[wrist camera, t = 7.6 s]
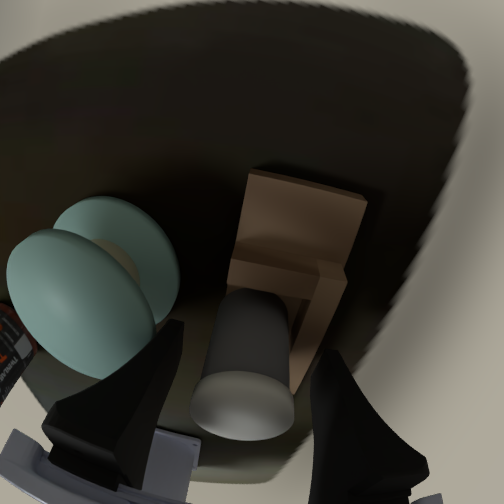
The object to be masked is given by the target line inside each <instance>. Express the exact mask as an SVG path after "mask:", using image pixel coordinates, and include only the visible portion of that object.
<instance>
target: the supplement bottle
mask: <svg viewBox="0 0 504 504" xmlns="http://www.w3.org/2000/svg"><path fill="white" fill-rule="evenodd" d="M36 352H37V342H36V339H35V338H34V337H33V336H32V335H31V333H30V332H29V331H28V329H27V328H26V327H25V325H24V324H23V322H22V321H21V319H20V317H19V315H18V314H17V312H16V311H15V310H14V309H12V308H11V307H9V306H8V305H6V304H3V303H0V407H1V405H2V403H3V402H4V400H5V399H6V397H7V396H8V394H9V392H10V391H11V389H12V388H13V386H14V384H15V383H16V382H17V380H18V379H19V378H20V376H21V374H22V373H23V372H24V370H25V369H26V367H27V366H28V365H29V363H30V362H31V360H32V359H33V357H34V356H35V354H36Z"/></svg>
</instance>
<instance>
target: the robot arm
mask: <svg viewBox="0 0 504 504" xmlns="http://www.w3.org/2000/svg"><path fill="white" fill-rule="evenodd" d="M183 331H184V322H182V321H178V320H174V319H169V320H168V321H167V322H166V324H165V325H164V326H163V327H162V328H161V330H160V331H159V332H158V333H157V334H156V335H155V336H154V337H153V338H152V339H151V340H150V341H149V342H148V343H147V344H146V345H145V346H144V347H143V348H142V349H141V350H140V351H139V352H138V353H137V354H136V355H135V356H134V357H132V358H131V359H130V360H129V361H128V362H127V363H125V364H124V365H123V366H121V367H120V368H119V369H117V370H116V371H115V372H113V373H112V374H110V375H109V376H107V377H106V378H104V379H103V380H101V381H99V382H98V383H96V384H94V385H92V386H90V387H88V388H87V389H85V390H83V391H81V392H79V393H76V394H74V395H72V396H69V397H67V398H64V399H62V400H59V401H56V402H55V404H54V405H53V406H52V408H51V409H50V411H49V412H48V414H47V416H46V418H45V420H44V421H43V423H42V430H43V432H44V433H45V435H46V436H47V437H48V439H49V440H50V441H51V442H52V443H53V447H52V449H51V451H50V453H49V452H47V451H45V450H44V449H43V447H42V446H41V445H40V444H39V443H38V442H36V441H35V440H33V439H32V438H30V437H28V436H27V435H25V434H23V433H22V432H20V431H18V430H17V429H13V431H12V433H11V434H10V436H9V439H8V440H7V442H6V444H5V446H4V448H3V450H2V452H1V454H0V476H1V477H2V478H4V479H5V480H7V481H8V482H9V483H11V484H12V485H14V486H15V487H17V488H18V489H20V490H21V491H23V492H24V493H26V494H27V495H29V496H31V497H32V498H34V499H36V500H38V501H39V502H41V503H43V504H191V503H186V502H185V501H186V496H187V491H188V487H189V482H190V477H191V472H192V470H193V471H196V470H197V465H198V459H199V453H200V446H201V440H200V439H198V438H194V437H190V436H185V435H181V434H177V433H173V432H169V431H165V430H162V429H158V428H156V425H157V422H158V418H159V415H160V412H161V409H162V407H163V404H164V402H165V400H166V397H167V395H168V392H169V390H170V387H171V385H172V382H173V380H174V377H175V375H176V372H177V369H178V365H179V362H180V358H181V355H182V346H183ZM310 399H311V411H312V422H313V433H314V455H313V470H312V480H311V489H310V495H309V501H308V504H409V499H408V496H411V488H413V487H414V486H416V485H417V484H419V483H420V482H422V481H424V480H425V479H426V478H427V477H428V476H429V468H428V464H427V460H426V457H425V456H423V455H422V454H420V453H419V452H418V451H416V450H414V449H413V448H412V447H411V446H409V445H408V444H407V443H406V442H405V441H404V440H402V439H401V438H400V437H399V436H398V435H397V434H396V433H395V432H394V431H393V430H392V429H391V428H390V427H389V426H388V425H387V424H386V423H385V422H384V421H383V419H382V418H381V417H380V416H379V415H378V413H377V412H376V411H375V410H374V408H373V407H372V406H371V404H370V403H369V402H368V400H367V399H366V397H365V396H364V394H363V393H362V391H361V390H360V388H359V386H358V385H357V383H356V381H355V380H354V378H353V376H352V375H351V373H350V371H349V369H348V367H347V366H346V364H345V362H344V360H343V359H342V357H341V355H340V353H339V352H338V350H330V349H325V351H324V353H323V355H322V357H321V359H320V361H319V362H318V364H317V366H316V368H315V370H314V372H313V374H312V375H311V387H310ZM411 504H443V500H442V495H441V494H440V493H439V494H435V495H431V496H427V497H423V498H420V499H418V500H416V501H414V502H412V503H411Z"/></svg>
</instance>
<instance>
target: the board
mask: <svg viewBox="0 0 504 504" xmlns="http://www.w3.org/2000/svg"><path fill="white" fill-rule="evenodd" d="M367 203H368V202H367V201H366V199H365V198H364V197H363V196H362V195H360V194H357V193H353V192H349V191H346V190H342V189H338V188H334V187H331V186H327V185H323V184H319V183H315V182H311V181H306V180H302V179H298V178H294V177H289V176H285V175H281V174H276V173H271V172H267V171H262V170H257V169H252V168H251V170H250V172H249V176H248V181H247V186H246V191H245V196H244V201H243V207H242V212H241V217H240V222H239V227H238V232H237V238H236V242H235V246H234V250H233V253H232V257H231V262H230V267H229V273H228V278H227V284H228V286H227V291H226V296H227V295H228V294H229V293H231V292H232V291H235V290H237V289H241V288H251V289H256V290H261V291H266V292H271V293H274V294H276V295H277V296H278V297H280V299H281V300H282V301H283V302H284V303H285V305H286V307H287V310H288V328H289V372H290V391H291V393H292V394H295V392H296V390H297V389H298V387H299V385H300V383H301V381H302V379H303V377H304V375H305V373H306V371H307V369H308V367H309V365H310V363H311V361H312V359H313V357H314V355H315V353H316V351H317V349H318V347H319V345H320V343H321V341H322V339H323V337H324V334H325V332H326V330H327V328H328V326H329V324H330V322H331V319H332V317H333V315H334V313H335V310H336V308H337V306H338V304H339V301H340V299H341V297H342V294H343V292H344V290H345V287H346V285H347V279H346V276H345V273H344V270H343V269H344V267H345V264H346V262H347V259H348V256H349V254H350V251H351V248H352V246H353V243H354V240H355V237H356V235H357V232H358V229H359V226H360V223H361V220H362V218H363V215H364V212H365V209H366V206H367Z"/></svg>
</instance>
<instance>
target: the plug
mask: <svg viewBox="0 0 504 504" xmlns="http://www.w3.org/2000/svg"><path fill="white" fill-rule="evenodd" d="M189 412H190V415H191V417H192V419H193V420H194V421H195V422H196V423H197V424H198V425H199V426H200V427H202V428H203V429H205V430H207V431H209V432H211V433H213V434H216V435H218V436H222V437H225V438H229V439H235V440H246V441H254V440H264V439H269V438H272V437H276V436H278V435H281V434H282V433H284V432H286V431H287V430H288V429H289V428H290V427H291V426H292V424H293V422H294V398H293V395H292V393H291V391H290V372H289V328H288V310H287V307H286V305H285V303H284V302H283V301H282V300H281V299H280V297H278V296H277V295H276V294H274V293H271V292H266V291H261V290H256V289H251V288H241V289H237V290H235V291H232V292H231V293H229V294H228V295H227V296H225V297H224V299H223V300H222V301H221V303H220V305H219V309H218V313H217V316H216V320H215V324H214V328H213V332H212V336H211V340H210V344H209V347H208V351H207V355H206V359H205V363H204V367H203V371H202V375H201V379H200V381H199V382H198V383H197V384H196V386H195V388H194V391H193V395H192V398H191V402H190V406H189Z"/></svg>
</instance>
